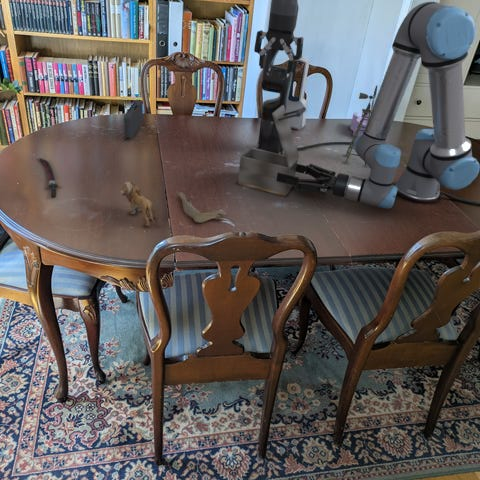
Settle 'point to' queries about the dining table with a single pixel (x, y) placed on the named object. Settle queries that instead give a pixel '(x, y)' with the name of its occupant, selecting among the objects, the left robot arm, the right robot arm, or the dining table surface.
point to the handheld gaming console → (133, 119)
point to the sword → (52, 181)
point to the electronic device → (298, 102)
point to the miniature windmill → (366, 112)
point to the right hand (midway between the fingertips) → (282, 170)
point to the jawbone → (195, 213)
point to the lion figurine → (137, 201)
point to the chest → (265, 171)
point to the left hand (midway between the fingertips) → (275, 70)
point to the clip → (356, 122)
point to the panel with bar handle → (287, 132)
